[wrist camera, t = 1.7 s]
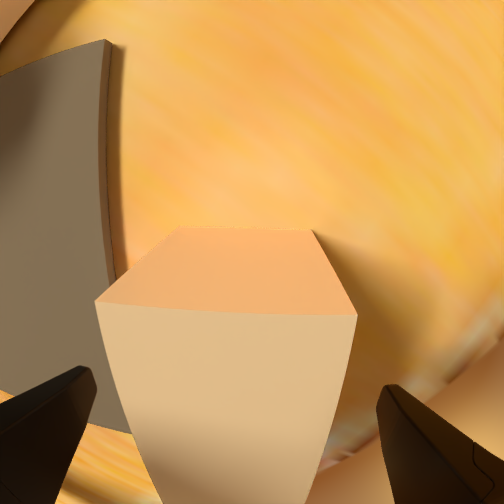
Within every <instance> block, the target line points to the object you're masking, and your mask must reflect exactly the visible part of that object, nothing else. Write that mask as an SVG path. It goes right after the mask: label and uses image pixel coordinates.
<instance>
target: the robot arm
mask: <svg viewBox="0 0 504 504" xmlns="http://www.w3.org/2000/svg"><path fill="white" fill-rule="evenodd" d="M96 394H97V385H96V382H95V379H94V376H93V373H92V370H91V369H90V368H89V367H86V366H82V365H78V366H76V367H74V368H72V369H70V370H68V371H66V372H64V373H62V374H60V375H58V376H56V377H54V378H52V379H50V380H48V381H46V382H44V383H42V384H40V385H38V386H36V387H34V388H32V389H30V390H27V391H25V392H23V393H21V394H19V395H17V396H15V397H13V398H11V399H9V400H7V401H5V402H3V403H1V404H0V504H55V502H56V499H57V496H58V494H59V491H60V488H61V486H62V483H63V481H64V478H65V476H66V473H67V471H68V468H69V466H70V463H71V461H72V459H73V456H74V454H75V452H76V449H77V447H78V445H79V442H80V440H81V438H82V435H83V433H84V430H85V428H86V425H87V422H88V419H89V416H90V412H91V409H92V406H93V403H94V400H95V397H96ZM376 412H377V419H378V425H379V432H380V439H381V447H382V452H383V457H384V461H385V464H386V468H387V472H388V477H389V481H390V485H391V489H392V493H393V497H394V502H395V504H504V461H503V460H501V459H500V458H498V457H496V456H495V455H493V454H491V453H490V452H489V451H487V450H486V449H484V448H483V447H482V446H480V445H479V444H477V443H476V442H473V440H472V439H470V438H469V437H468V436H466V435H465V434H463V433H462V432H461V431H459V430H458V429H457V428H455V427H454V426H452V425H451V424H450V423H448V422H447V421H446V420H444V419H443V418H442V417H440V416H439V415H438V414H436V413H435V412H434V411H432V410H431V409H430V408H428V407H427V406H425V405H424V404H423V403H421V402H420V401H419V400H417V399H416V398H415V397H413V396H412V395H411V394H409V393H408V392H407V391H405V390H404V389H403V388H401V387H400V386H399V385H397V384H391V385H385V386H384V387H383V388H382V391H381V394H380V397H379V399H378V402H377V406H376Z"/></svg>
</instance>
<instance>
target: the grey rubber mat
mask: <svg viewBox="0 0 504 504" xmlns="http://www.w3.org/2000/svg"><path fill="white" fill-rule="evenodd" d="M111 49H112V43H111V42H109V41H107V40H106V39H103V40H99V41H95V42H91V43H88V44H84V45H81V46H78V47H74V48H71V49H68V50H65V51H62V52H59V53H56V54H54V55H51V56H48V57H45V58H43V59H40V60H37V61H35V62H32V63H30V64H28V65H25V66H23V67H20V68H18V69H16V70H14V71H11V72H9V73H7V74H5V75H3V76H1V77H0V390H2V391H4V392H7V393H9V394H11V395H13V396H17V395H19V394H21V393H23V392H25V391H27V390H30V389H32V388H34V387H36V386H38V385H40V384H42V383H44V382H46V381H48V380H50V379H52V378H54V377H56V376H58V375H60V374H62V373H64V372H66V371H68V370H70V369H72V368H74V367H76V366H78V365H82V366H86V367H89V368H90V369H91V370H92V373H93V376H94V379H95V382H96V385H97V394H96V397H95V400H94V403H93V406H92V409H91V412H90V416H89V419H88V422H87V423H90V424H94V425H97V426H101V427H105V428H108V429H112V430H116V431H120V432H125V433H129V434H132V432H131V429H130V427H129V424H128V421H127V419H126V416H125V413H124V410H123V407H122V404H121V401H120V398H119V395H118V392H117V389H116V385H115V382H114V379H113V375H112V372H111V369H110V365H109V361H108V358H107V354H106V350H105V346H104V342H103V338H102V334H101V330H100V325H99V321H98V316H97V311H96V306H95V300H96V299H97V298H98V297H99V296H100V295H102V294H103V293H104V292H105V291H106V290H107V289H108V288H109V287H110V286H111V285H112V284H113V283H115V282H116V277H115V269H114V262H113V253H112V244H111V234H110V223H109V210H108V194H107V169H106V120H107V96H108V81H109V69H110V58H111Z"/></svg>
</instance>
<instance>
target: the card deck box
mask: <svg viewBox="0 0 504 504" xmlns="http://www.w3.org/2000/svg"><path fill="white" fill-rule="evenodd" d="M95 306H96V311H97V316H98V321H99V325H100V330H101V334H102V338H103V342H104V346H105V350H106V354H107V358H108V361H109V365H110V369H111V372H112V375H113V379H114V382H115V385H116V389H117V392H118V395H119V398H120V401H121V404H122V407H123V410H124V413H125V416H126V419H127V421H128V424H129V427H130V429H131V432H132V435H133V437H134V440H135V442H136V445H137V447H138V450H139V452H140V455H141V457H142V460H143V462H144V464H145V466H146V469H147V471H148V473H149V475H150V478H151V480H152V482H153V484H154V486H155V488H156V490H157V492H158V494H159V496H160V498H161V500H162V502H163V504H305V501H306V499H307V496H308V494H309V491H310V488H311V485H312V483H313V480H314V477H315V475H316V472H317V469H318V466H319V463H320V460H321V457H322V454H323V451H324V448H325V445H326V442H327V439H328V435H329V432H330V429H331V425H332V422H333V419H334V415H335V411H336V408H337V404H338V401H339V397H340V393H341V389H342V385H343V381H344V377H345V373H346V369H347V365H348V360H349V356H350V351H351V347H352V342H353V337H354V332H355V327H356V322H357V317H358V314H357V312H356V310H355V308H354V306H353V305H352V303H351V301H350V299H349V297H348V295H347V293H346V291H345V290H344V288H343V286H342V284H341V282H340V280H339V278H338V277H337V275H336V273H335V271H334V269H333V267H332V266H331V264H330V262H329V260H328V258H327V257H326V255H325V253H324V251H323V250H322V248H321V246H320V244H319V243H318V241H317V239H316V237H315V236H314V234H313V232H312V230H310V229H284V228H254V227H217V226H178V227H177V228H176V229H175V230H174V231H173V232H171V233H170V234H169V235H168V236H167V237H165V238H164V239H163V240H162V241H161V242H160V243H158V244H157V245H156V246H155V247H154V248H153V249H152V250H150V251H149V252H148V253H147V254H146V255H145V256H144V257H142V258H141V259H140V260H139V261H138V262H137V263H136V264H134V265H133V266H132V267H131V268H130V269H129V270H128V271H127V272H126V273H124V274H123V275H122V276H121V277H120V278H119V279H118V280H117V281H116V282H115V283H113V284H112V285H111V286H110V287H109V288H108V289H107V290H106V291H105V292H104V293H103V294H102V295H100V296H99V297H98V298H97V299H96V300H95Z"/></svg>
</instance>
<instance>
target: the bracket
mask: <svg viewBox="0 0 504 504" xmlns="http://www.w3.org/2000/svg"><path fill="white" fill-rule="evenodd" d="M34 1H35V0H0V43H1V42H2V40H3V39H4V37H5V36H6V35H7V33H8V32H9V31H10V30H11V28H12V27H13V26H14V24H15V23H16V22H17V21H18V19H19V18H20V17H21V16H22V15H23V13H24V12H25V11H26V10H27V9H28V8H29V6H30V5H31V4H32V3H33V2H34Z"/></svg>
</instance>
